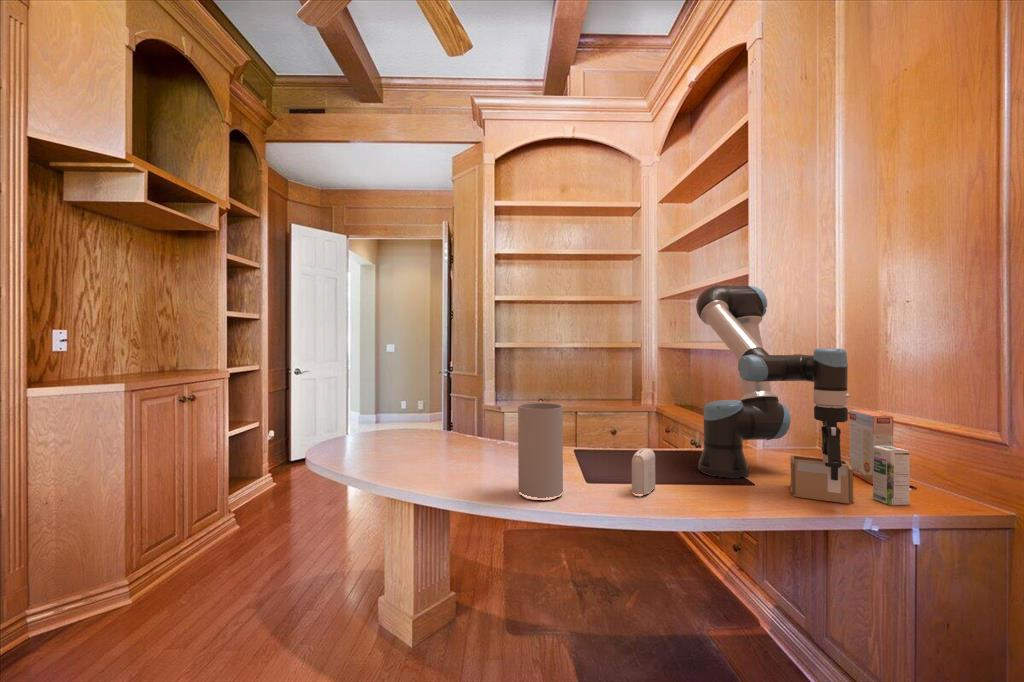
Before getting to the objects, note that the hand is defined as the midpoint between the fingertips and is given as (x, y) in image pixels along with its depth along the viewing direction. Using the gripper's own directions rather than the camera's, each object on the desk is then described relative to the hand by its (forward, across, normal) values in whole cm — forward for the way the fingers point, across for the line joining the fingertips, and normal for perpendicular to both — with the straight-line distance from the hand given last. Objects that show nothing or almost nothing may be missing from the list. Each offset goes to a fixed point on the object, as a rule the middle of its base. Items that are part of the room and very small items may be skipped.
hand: (831, 485), depth 127 cm
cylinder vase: (+5, -32, +71) cm, 78 cm away
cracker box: (+5, +30, -13) cm, 33 cm away
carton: (+4, +6, +2) cm, 8 cm away
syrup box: (+5, +8, -14) cm, 16 cm away
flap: (+4, 0, +2) cm, 5 cm away
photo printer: (+5, -16, +46) cm, 49 cm away
